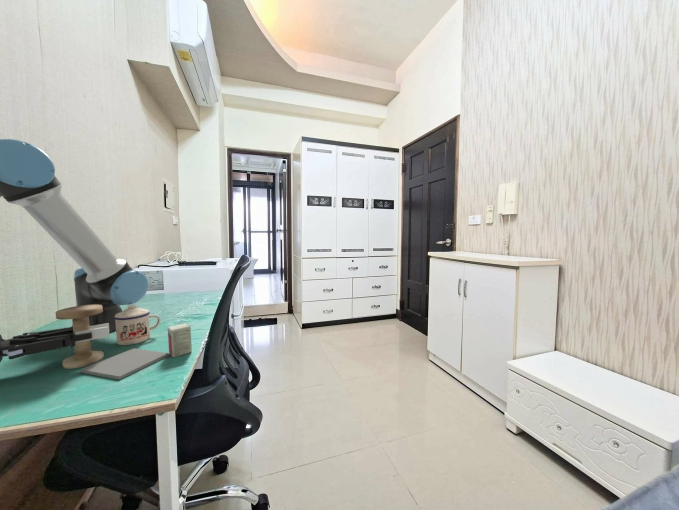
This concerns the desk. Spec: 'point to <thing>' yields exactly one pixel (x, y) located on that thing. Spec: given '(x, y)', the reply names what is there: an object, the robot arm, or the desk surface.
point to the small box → (179, 339)
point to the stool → (80, 324)
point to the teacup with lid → (133, 325)
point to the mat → (124, 363)
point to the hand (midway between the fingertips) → (108, 329)
